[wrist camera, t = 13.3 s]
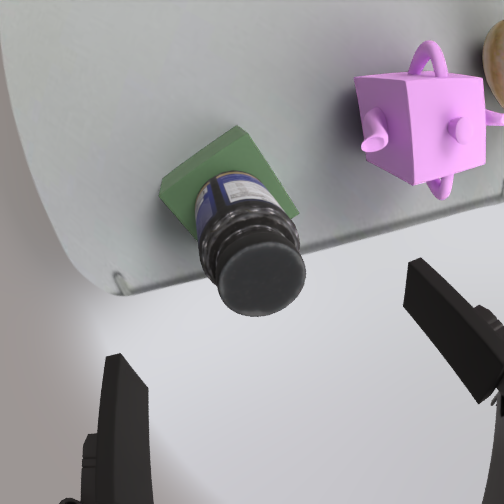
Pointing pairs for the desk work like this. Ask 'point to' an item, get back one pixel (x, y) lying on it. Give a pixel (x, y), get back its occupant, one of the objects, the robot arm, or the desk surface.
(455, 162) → the teapot
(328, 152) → the desk surface
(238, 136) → the block
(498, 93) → the decorative ball
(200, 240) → the pill bottle
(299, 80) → the desk surface
